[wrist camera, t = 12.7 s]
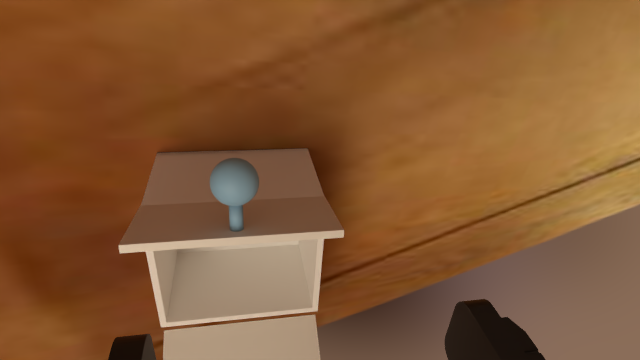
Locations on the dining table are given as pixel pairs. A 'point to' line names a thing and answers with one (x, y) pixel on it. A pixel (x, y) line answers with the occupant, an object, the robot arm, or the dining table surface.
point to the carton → (235, 260)
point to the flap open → (246, 341)
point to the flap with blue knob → (230, 217)
